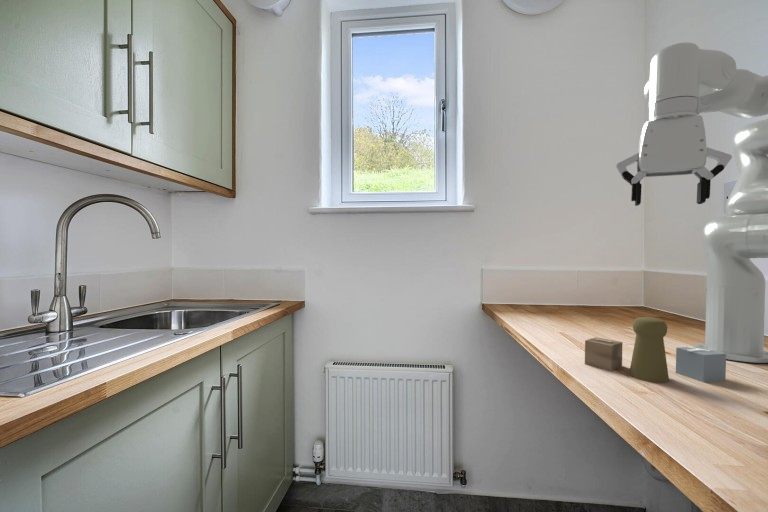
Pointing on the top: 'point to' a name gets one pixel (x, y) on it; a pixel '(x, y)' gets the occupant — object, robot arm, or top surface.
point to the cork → (649, 350)
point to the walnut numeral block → (603, 353)
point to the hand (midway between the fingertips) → (668, 203)
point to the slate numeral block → (701, 364)
